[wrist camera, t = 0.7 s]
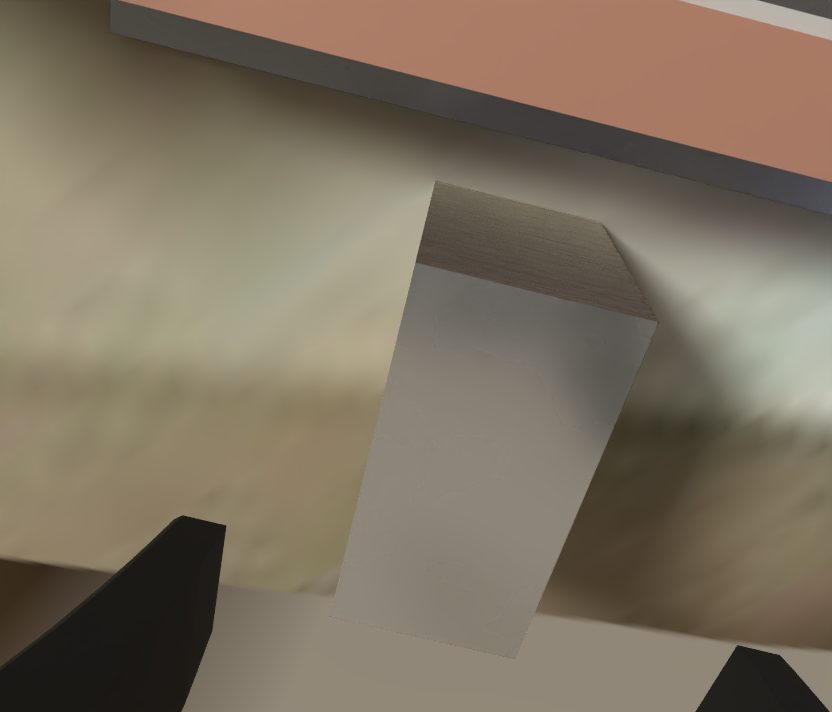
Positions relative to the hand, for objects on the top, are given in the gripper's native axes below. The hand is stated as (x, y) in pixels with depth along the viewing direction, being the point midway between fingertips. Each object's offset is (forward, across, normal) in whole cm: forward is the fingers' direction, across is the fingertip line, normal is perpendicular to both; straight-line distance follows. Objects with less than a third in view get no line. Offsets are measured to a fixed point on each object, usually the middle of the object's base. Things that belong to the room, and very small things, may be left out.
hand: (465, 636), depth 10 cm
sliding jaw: (+9, +1, -8) cm, 11 cm away
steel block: (+10, 0, 0) cm, 10 cm away
